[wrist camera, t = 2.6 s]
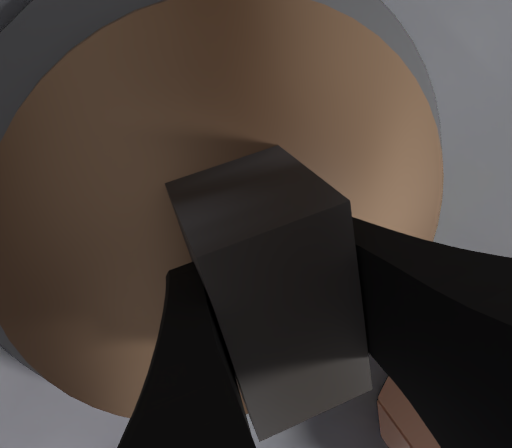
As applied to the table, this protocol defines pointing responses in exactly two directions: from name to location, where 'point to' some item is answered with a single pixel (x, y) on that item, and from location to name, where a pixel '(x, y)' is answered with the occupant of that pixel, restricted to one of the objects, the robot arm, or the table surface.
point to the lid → (211, 197)
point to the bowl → (401, 420)
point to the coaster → (112, 8)
